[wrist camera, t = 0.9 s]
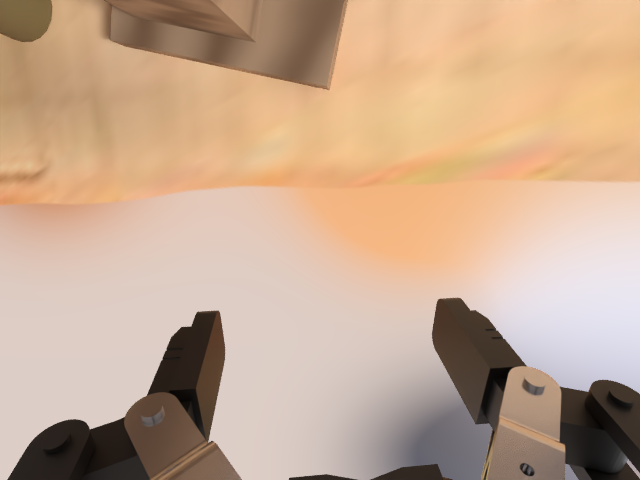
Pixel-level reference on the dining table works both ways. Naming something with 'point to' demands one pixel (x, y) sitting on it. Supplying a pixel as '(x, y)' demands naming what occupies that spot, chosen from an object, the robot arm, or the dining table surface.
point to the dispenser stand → (238, 34)
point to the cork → (25, 18)
